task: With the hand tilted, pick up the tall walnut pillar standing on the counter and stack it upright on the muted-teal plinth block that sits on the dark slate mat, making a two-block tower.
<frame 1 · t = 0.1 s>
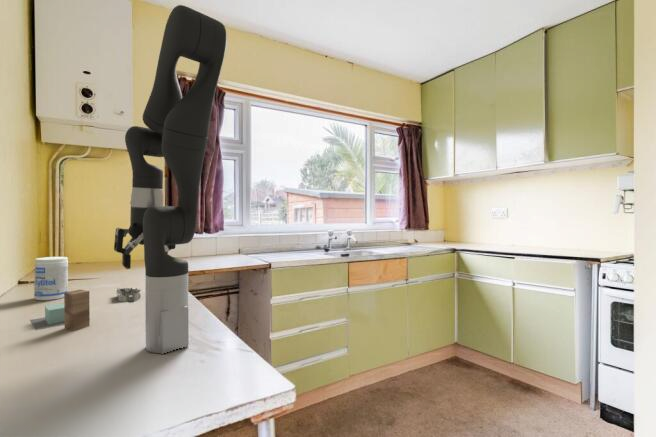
hand: (145, 266, 90), 17 cm above the counter, tool pointing down, fingers open, 8 cm apart
supplement tub: (51, 298, 124), on the counter
egg carton: (128, 299, 124), on the counter
pillar: (77, 328, 93), on the counter
mat: (60, 320, 99), on the counter
plinth: (60, 319, 99), resting on mat
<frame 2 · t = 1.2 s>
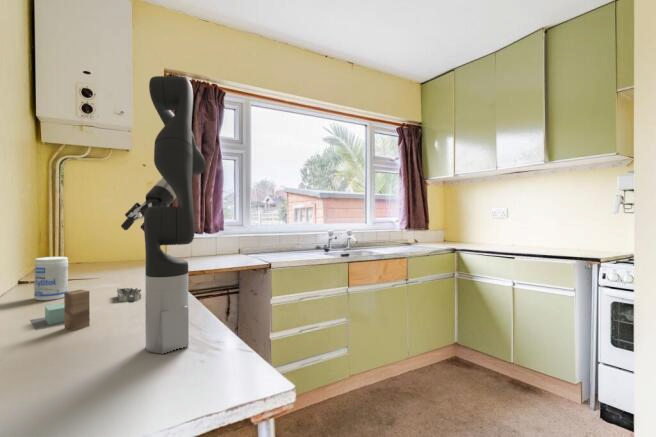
hand: (133, 228, 104), 27 cm above the counter, tool tilted 45°, fingers open, 8 cm apart
nothing on the counter moved.
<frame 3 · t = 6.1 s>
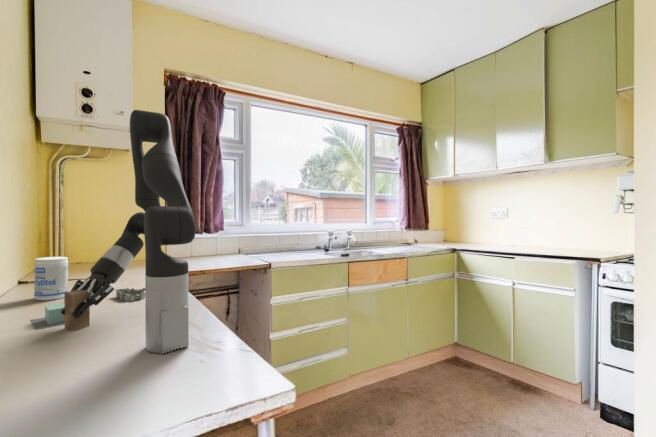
hand: (69, 315, 91), 4 cm above the counter, tool tilted 45°, fingers closed on pillar, 4 cm apart
pillar: (77, 328, 93), on the counter, touching gripper
when the fingers open (9 cm above the counter, at t = 10.3 s): pillar drops 1 cm, resting on plinth.
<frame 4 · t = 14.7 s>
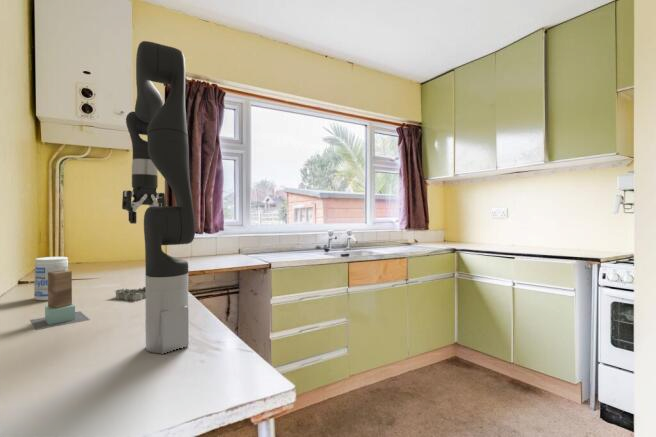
hand: (145, 223, 112), 28 cm above the counter, tool pointing down, fingers open, 8 cm apart
pillar: (60, 306, 99), point 4 cm above the counter, touching plinth
plinth: (60, 319, 99), resting on mat, touching pillar
at the end: pillar 0.1 cm off-centre on the plinth, point 4.0 cm above the plinth's base; pillar tilted 0°; the gripper is holding nothing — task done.
